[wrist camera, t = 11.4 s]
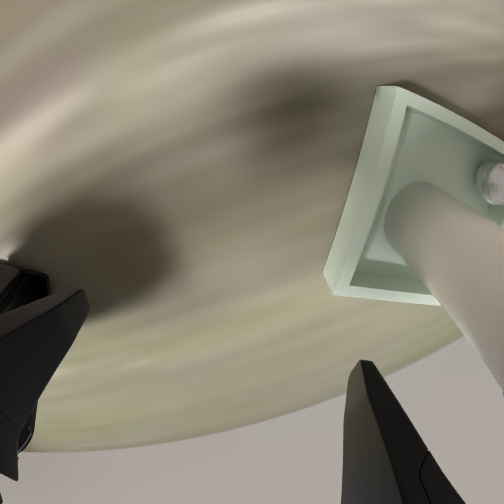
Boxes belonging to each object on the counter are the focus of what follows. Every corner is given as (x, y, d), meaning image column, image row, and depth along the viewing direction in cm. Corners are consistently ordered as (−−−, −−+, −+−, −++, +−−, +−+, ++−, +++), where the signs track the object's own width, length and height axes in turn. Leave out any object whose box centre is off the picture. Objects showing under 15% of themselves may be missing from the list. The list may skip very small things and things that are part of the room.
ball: (487, 200, 19) (514, 217, 16) (461, 189, 18) (489, 206, 15) (500, 161, 17) (528, 174, 14) (474, 147, 17) (504, 159, 14)
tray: (453, 290, 23) (469, 307, 21) (322, 272, 21) (333, 294, 19) (507, 150, 17) (529, 159, 15) (377, 85, 16) (397, 86, 13)
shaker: (419, 266, 21) (534, 418, 8) (367, 235, 19) (497, 419, 7) (460, 205, 19) (607, 328, 6) (411, 164, 17) (600, 291, 5)
